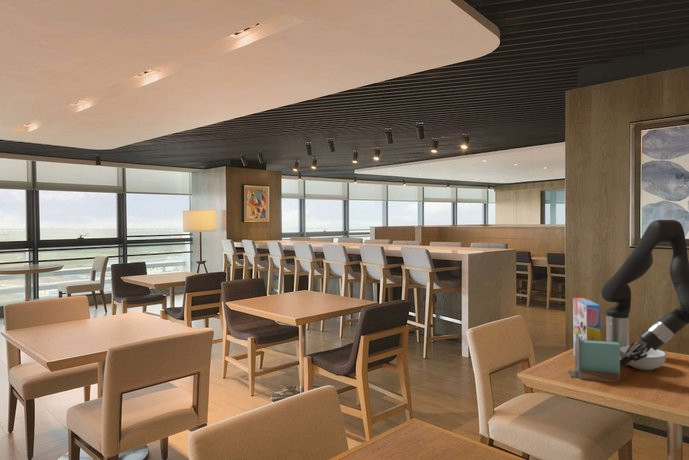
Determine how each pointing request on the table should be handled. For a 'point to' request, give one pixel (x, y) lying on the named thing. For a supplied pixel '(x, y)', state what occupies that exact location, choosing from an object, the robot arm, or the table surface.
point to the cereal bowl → (646, 359)
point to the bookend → (577, 358)
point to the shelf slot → (597, 374)
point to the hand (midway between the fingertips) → (621, 364)
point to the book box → (600, 356)
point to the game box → (586, 320)
